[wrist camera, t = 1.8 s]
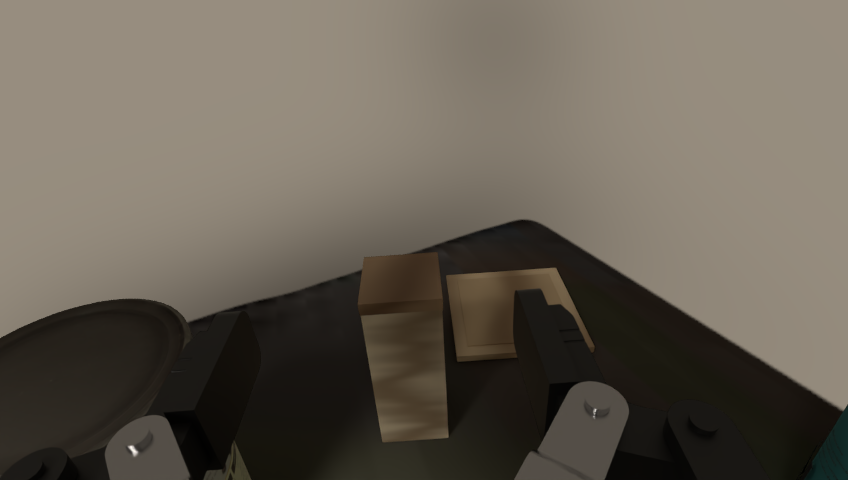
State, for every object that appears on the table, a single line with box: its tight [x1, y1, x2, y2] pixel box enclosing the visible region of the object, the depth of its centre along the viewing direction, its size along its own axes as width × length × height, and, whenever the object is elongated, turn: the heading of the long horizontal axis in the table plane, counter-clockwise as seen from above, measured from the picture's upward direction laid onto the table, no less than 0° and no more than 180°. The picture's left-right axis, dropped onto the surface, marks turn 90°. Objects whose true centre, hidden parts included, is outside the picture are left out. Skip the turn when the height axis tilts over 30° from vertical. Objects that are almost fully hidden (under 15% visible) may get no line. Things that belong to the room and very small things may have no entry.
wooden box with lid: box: [358, 252, 449, 442], centre depth 30 cm, size 5×5×12 cm
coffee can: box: [0, 299, 251, 480], centre depth 23 cm, size 10×10×14 cm
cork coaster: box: [446, 268, 595, 362], centre depth 41 cm, size 11×11×1 cm
